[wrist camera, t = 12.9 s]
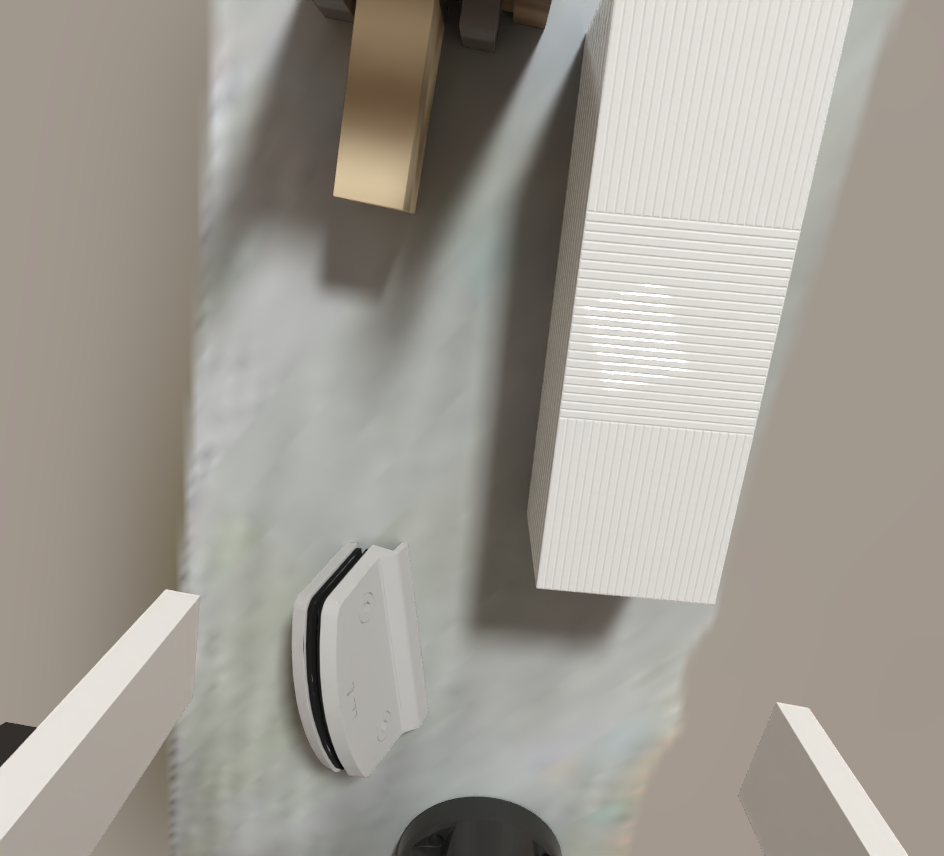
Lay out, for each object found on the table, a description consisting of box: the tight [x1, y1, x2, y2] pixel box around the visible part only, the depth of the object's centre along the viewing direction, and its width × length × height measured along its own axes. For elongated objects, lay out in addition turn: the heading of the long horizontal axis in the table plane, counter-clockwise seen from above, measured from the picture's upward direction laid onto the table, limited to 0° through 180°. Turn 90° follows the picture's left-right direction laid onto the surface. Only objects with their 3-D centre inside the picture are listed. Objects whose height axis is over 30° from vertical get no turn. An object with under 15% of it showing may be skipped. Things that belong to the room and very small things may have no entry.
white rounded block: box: [292, 543, 429, 777], centre depth 47 cm, size 17×5×10 cm, turn 5°
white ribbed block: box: [527, 0, 853, 605], centre depth 38 cm, size 32×11×11 cm, turn 175°
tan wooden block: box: [333, 0, 447, 214], centre depth 37 cm, size 12×4×6 cm, turn 169°
